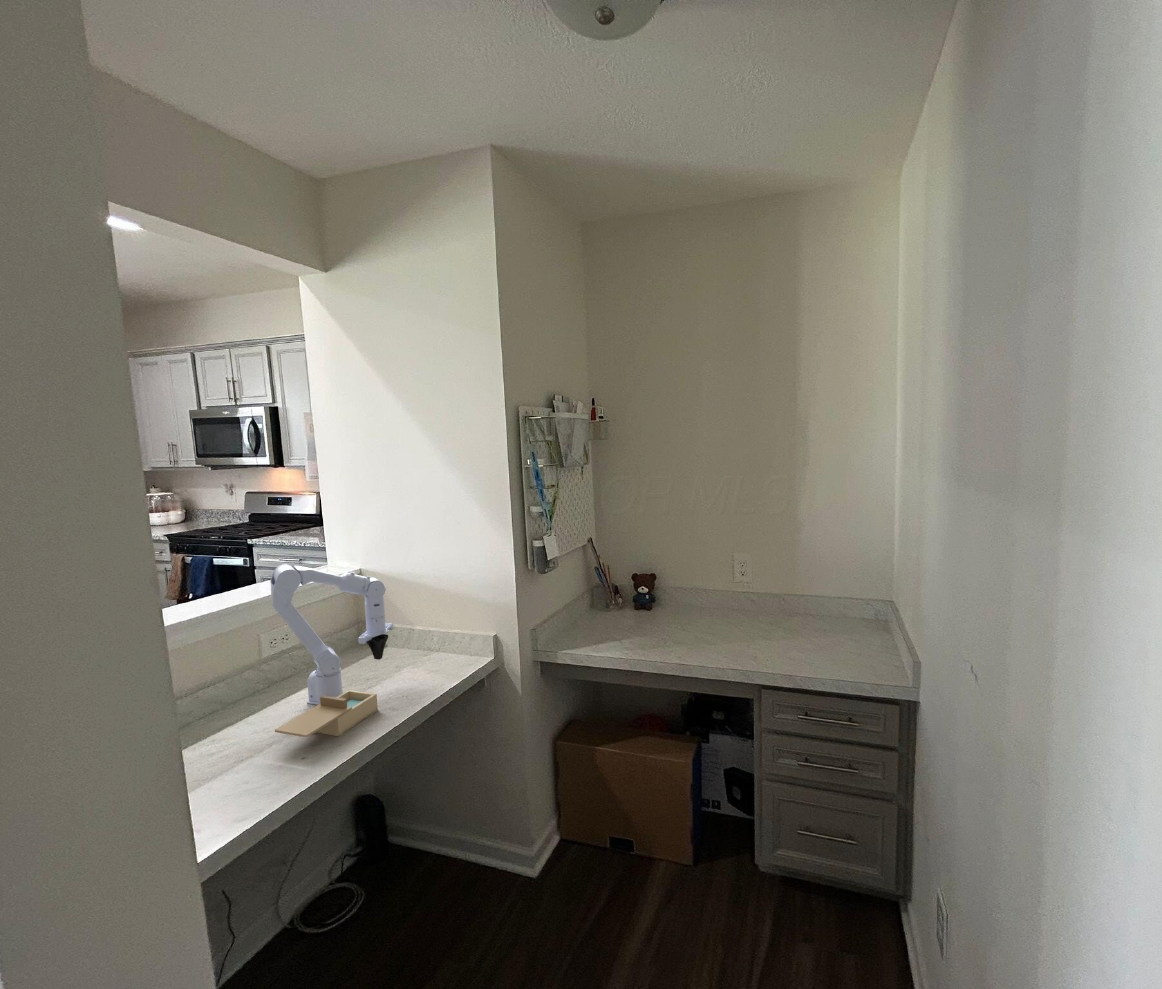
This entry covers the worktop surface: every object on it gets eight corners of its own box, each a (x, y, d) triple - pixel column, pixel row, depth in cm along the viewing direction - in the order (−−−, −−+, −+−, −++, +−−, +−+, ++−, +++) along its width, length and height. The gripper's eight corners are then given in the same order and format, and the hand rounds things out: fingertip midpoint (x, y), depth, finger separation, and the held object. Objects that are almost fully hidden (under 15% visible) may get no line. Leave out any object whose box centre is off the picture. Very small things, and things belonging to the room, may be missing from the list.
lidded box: (349, 706, 185) (348, 689, 185) (377, 710, 182) (376, 693, 181) (309, 731, 170) (307, 713, 170) (339, 736, 167) (337, 718, 166)
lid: (321, 704, 175) (320, 694, 175) (351, 709, 171) (351, 698, 171) (274, 732, 160) (273, 720, 159) (306, 737, 156) (305, 726, 156)
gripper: (370, 624, 188) (373, 668, 189) (400, 610, 201) (402, 651, 203) (351, 622, 190) (354, 666, 192) (382, 609, 204) (384, 649, 205)
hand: (378, 658), depth 197 cm, fingers closed
